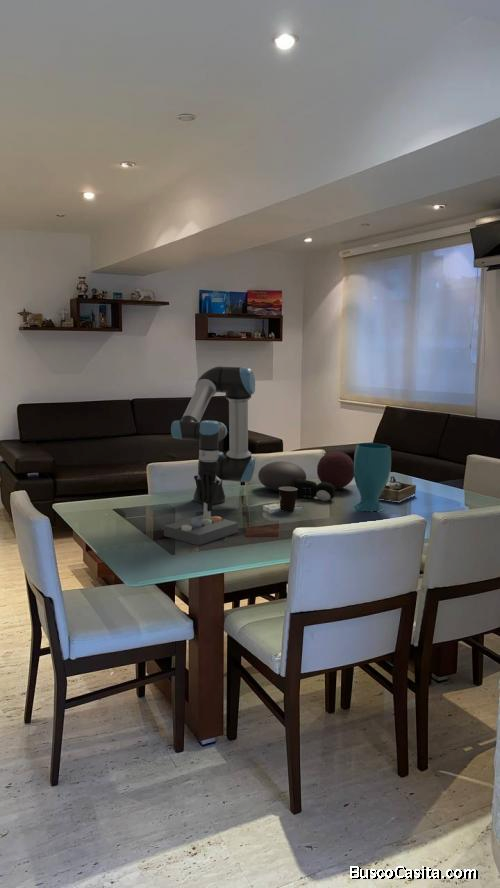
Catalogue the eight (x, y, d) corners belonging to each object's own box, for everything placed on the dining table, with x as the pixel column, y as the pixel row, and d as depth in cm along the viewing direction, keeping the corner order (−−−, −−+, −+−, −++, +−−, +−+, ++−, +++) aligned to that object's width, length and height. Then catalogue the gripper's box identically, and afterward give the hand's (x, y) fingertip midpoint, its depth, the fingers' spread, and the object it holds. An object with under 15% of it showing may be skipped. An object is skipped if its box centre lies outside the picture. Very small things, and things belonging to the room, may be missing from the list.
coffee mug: (295, 513, 303) (296, 491, 302) (276, 511, 305) (277, 489, 303) (298, 507, 314) (299, 486, 313) (280, 505, 316) (281, 484, 314)
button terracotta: (209, 526, 272) (209, 517, 271) (215, 524, 275) (215, 515, 275) (216, 528, 270) (217, 519, 269) (223, 526, 273) (223, 517, 272)
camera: (391, 500, 336) (393, 480, 335) (378, 497, 341) (379, 478, 339) (404, 495, 348) (405, 476, 347) (390, 492, 353) (392, 474, 351)
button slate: (189, 528, 262) (189, 519, 262) (196, 526, 265) (196, 517, 265) (197, 530, 260) (197, 521, 259) (203, 528, 263) (204, 519, 262)
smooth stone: (291, 498, 331) (292, 468, 329) (248, 490, 344) (249, 462, 342) (313, 489, 352) (315, 461, 350) (272, 483, 365) (273, 456, 363)
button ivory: (179, 535, 258) (179, 526, 257) (185, 533, 261) (186, 524, 260) (186, 537, 255) (187, 528, 255) (193, 535, 258) (194, 526, 258)
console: (163, 535, 261) (164, 525, 260) (203, 523, 280) (204, 514, 280) (199, 545, 251) (199, 535, 250) (238, 532, 270) (238, 522, 269)
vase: (343, 507, 316) (347, 444, 312) (363, 502, 329) (367, 441, 324) (374, 515, 305) (379, 450, 300) (394, 509, 318) (399, 446, 313)
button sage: (199, 529, 267) (199, 520, 267) (205, 527, 270) (206, 518, 270) (207, 531, 265) (207, 522, 264) (213, 529, 268) (213, 520, 267)
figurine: (291, 486, 329) (331, 491, 322) (297, 474, 336) (335, 479, 329) (293, 500, 335) (332, 505, 327) (299, 489, 341) (337, 494, 334)
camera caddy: (372, 498, 337) (372, 486, 336) (389, 492, 354) (390, 480, 353) (398, 503, 329) (399, 491, 328) (415, 496, 346) (416, 485, 345)
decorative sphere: (316, 483, 368) (318, 447, 365) (353, 486, 365) (355, 449, 362) (315, 491, 349) (317, 453, 345) (353, 494, 346) (356, 455, 343)
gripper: (189, 459, 264) (188, 517, 268) (215, 463, 257) (213, 523, 260) (202, 456, 270) (200, 513, 274) (227, 461, 262) (225, 519, 266)
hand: (207, 518), depth 267 cm, fingers closed
